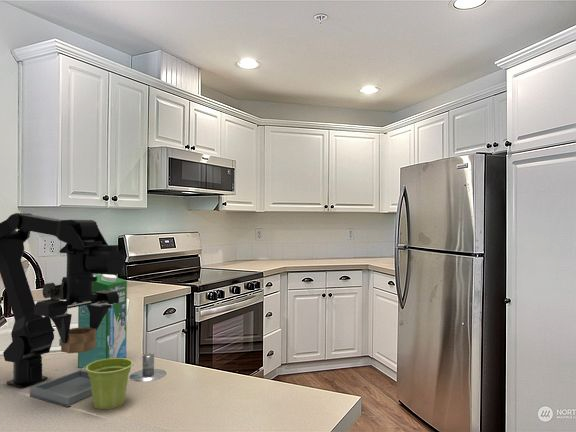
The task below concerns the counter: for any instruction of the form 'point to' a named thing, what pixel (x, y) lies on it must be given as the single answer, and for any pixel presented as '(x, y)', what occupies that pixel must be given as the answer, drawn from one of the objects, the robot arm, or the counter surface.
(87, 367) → the plant pot
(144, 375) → the grey peg stand
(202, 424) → the counter surface
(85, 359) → the milk carton
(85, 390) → the tray
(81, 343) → the ring
